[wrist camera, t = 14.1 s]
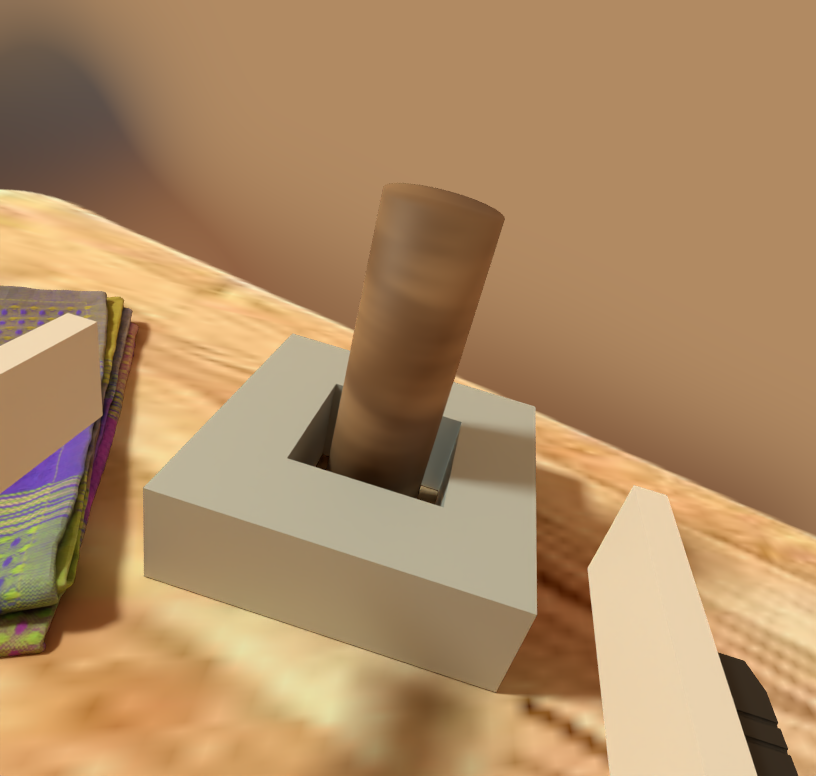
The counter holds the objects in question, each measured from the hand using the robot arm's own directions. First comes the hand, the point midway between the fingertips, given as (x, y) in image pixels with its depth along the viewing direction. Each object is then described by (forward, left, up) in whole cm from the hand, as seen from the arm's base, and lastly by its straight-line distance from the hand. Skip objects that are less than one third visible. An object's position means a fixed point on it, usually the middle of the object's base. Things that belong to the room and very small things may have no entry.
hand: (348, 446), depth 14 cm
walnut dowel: (0, -10, -11) cm, 15 cm away
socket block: (0, -10, -11) cm, 15 cm away
